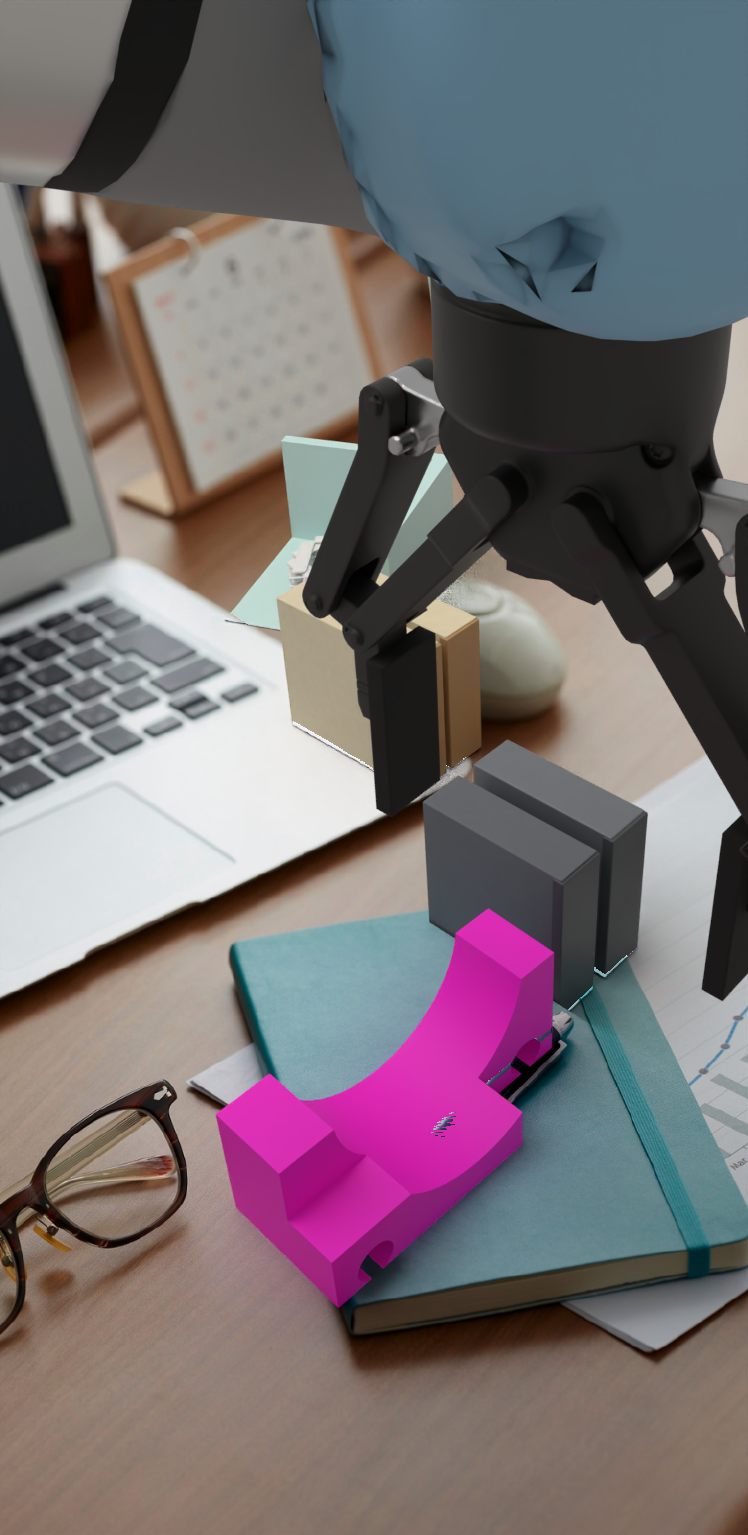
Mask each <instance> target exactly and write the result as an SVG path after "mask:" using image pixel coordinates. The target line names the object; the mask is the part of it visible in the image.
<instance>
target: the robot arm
mask: <svg viewBox="0 0 748 1535" xmlns="http://www.w3.org/2000/svg"><path fill="white" fill-rule="evenodd" d="M0 183H2V184H3V183H4V184H12V185H20V186H21V185H22V186H28V187H33V188H34V187H35V188H42V189H49V190H58V191H65V192H71V193H80V194H84V195H89V196H93V197H98V198H102V199H108V200H111V201H116V202H121V203H128V204H136V205H145V206H155V207H165V208H171V209H173V208H174V209H183V210H192V211H201V212H208V213H209V212H211V213H218V214H228V215H237V216H243V217H254V218H263V219H271V220H279V221H280V220H281V221H289V222H297V223H306V224H316V225H323V226H329V227H335V228H341V229H345V230H350V231H354V232H359V233H363V234H367V235H371V236H375V237H376V238H377V237H378V238H380V239H381V240H382V241H383V243H384V244H385V245H386V246H388V248H390V249H391V250H392V251H394V252H395V253H396V254H397V255H398V256H399V257H401V258H402V259H403V260H404V261H405V262H406V263H408V264H409V265H410V266H411V267H412V268H413V269H414V270H416V271H417V272H418V273H419V274H421V275H423V276H426V277H428V278H429V279H430V280H429V281H430V282H429V284H430V312H431V313H430V315H431V316H430V317H431V343H432V344H431V345H432V346H431V347H432V348H431V349H432V359H431V358H430V357H425V356H423V357H420V358H417V359H415V360H413V361H411V362H410V363H407V364H406V365H404V366H402V367H399V368H397V369H396V370H393V371H391V372H390V373H388V374H386V375H384V376H382V377H381V378H379V379H376V380H375V381H373V382H370V383H368V384H367V385H365V386H363V387H362V388H361V390H360V391H359V395H358V413H357V414H358V418H357V419H358V420H357V444H358V449H357V452H356V454H355V457H354V460H353V462H352V465H351V467H350V470H349V472H348V475H347V478H346V480H345V483H344V485H343V488H342V491H341V493H340V496H339V498H338V501H337V503H336V506H335V509H334V511H333V514H332V516H331V519H330V521H329V524H328V527H327V529H326V532H325V534H324V537H323V540H322V542H321V545H320V547H319V550H318V552H317V555H316V558H315V560H314V563H313V565H312V568H311V571H310V573H309V576H308V578H307V581H306V583H305V586H304V589H303V592H302V598H303V602H304V605H305V607H306V608H307V610H308V611H309V612H310V613H311V614H312V615H313V616H314V617H316V618H319V619H321V618H325V617H326V616H328V615H330V616H332V617H333V618H334V619H335V620H336V621H337V622H339V623H340V624H341V625H342V633H343V636H344V639H345V641H346V642H347V644H348V645H349V646H350V647H351V648H352V649H353V650H354V657H355V670H356V679H357V681H356V683H357V689H358V690H357V696H358V704H359V707H360V709H361V712H362V715H363V717H365V718H367V719H369V720H370V728H371V742H372V756H373V770H374V771H373V781H374V795H375V796H374V798H375V809H376V810H377V811H379V812H381V813H383V814H385V815H387V816H388V817H390V818H393V817H394V816H396V815H397V814H398V813H399V812H401V811H402V810H403V809H405V808H406V807H407V806H408V805H410V804H411V803H413V802H414V801H416V799H418V798H419V797H420V796H422V795H424V793H426V792H427V791H428V790H429V789H431V788H432V787H433V786H435V785H436V784H437V783H438V782H440V781H441V777H440V750H439V721H438V691H437V661H436V633H434V632H432V631H430V630H428V629H425V628H423V627H421V626H418V627H416V628H415V629H413V630H412V631H410V632H409V633H407V625H406V624H408V623H409V622H411V621H412V620H414V619H415V618H417V617H418V616H420V615H421V614H423V613H424V612H426V611H427V607H428V606H429V605H430V604H431V603H432V602H433V601H434V600H435V599H438V598H439V597H440V596H441V595H442V594H443V593H444V592H445V591H446V590H447V589H449V587H451V586H452V585H453V584H454V583H455V582H456V581H457V580H458V579H459V578H460V577H461V576H463V575H464V574H465V573H466V572H467V571H468V570H469V569H470V568H471V567H473V565H475V563H477V562H478V561H479V560H480V558H482V557H483V556H484V555H485V554H487V553H488V551H490V550H491V549H494V550H495V552H496V553H497V554H498V555H499V556H500V557H501V558H503V559H504V560H505V561H506V562H505V564H506V566H505V568H506V571H508V572H511V573H513V574H515V575H518V576H520V577H523V578H525V579H529V580H539V581H546V582H547V581H548V582H550V583H552V584H553V585H555V586H556V587H558V588H559V589H560V590H562V591H564V592H565V593H566V594H568V595H569V596H571V597H573V598H574V599H577V600H580V601H582V602H585V603H587V604H590V605H592V606H596V605H598V604H599V603H600V602H601V603H603V605H604V607H605V608H606V610H607V612H608V614H609V615H610V617H611V619H612V621H613V622H614V624H615V626H616V627H617V629H618V631H619V633H620V634H621V636H622V637H623V639H625V641H626V642H629V643H630V644H633V645H639V646H641V647H643V648H644V650H645V651H646V653H647V654H648V656H649V658H650V660H651V662H652V663H653V665H654V666H655V669H656V670H657V672H658V674H659V675H660V677H661V678H662V680H663V682H664V684H665V685H666V688H667V689H668V691H669V692H670V694H671V696H672V697H673V699H674V701H675V703H676V704H677V706H678V708H679V710H680V712H681V713H682V715H683V717H684V719H685V720H686V722H687V724H688V725H689V727H690V729H691V730H692V733H693V734H694V735H695V738H696V739H697V741H698V743H699V744H700V747H701V748H702V749H703V751H704V753H705V755H706V757H707V758H708V760H709V762H710V763H711V765H712V767H713V768H714V771H715V773H716V774H717V775H718V777H719V779H720V780H721V782H722V784H723V786H724V787H725V789H726V791H727V793H728V795H729V796H730V798H731V800H732V801H733V804H734V805H735V806H736V808H737V811H738V812H739V814H740V815H739V816H738V817H737V818H736V819H735V820H734V821H733V822H732V823H731V824H730V825H729V826H728V827H727V828H726V829H725V830H724V831H723V832H722V833H721V841H720V846H719V847H720V848H719V855H718V862H717V871H716V877H715V885H714V893H713V898H712V907H711V913H710V922H709V930H708V937H707V944H706V953H705V959H704V965H703V966H704V968H703V973H702V974H703V975H702V982H701V991H703V992H704V993H706V994H708V995H709V996H712V997H713V998H715V999H717V1000H719V1001H721V1002H724V1001H725V1000H726V998H727V997H728V996H729V995H730V994H731V993H732V992H733V991H734V989H736V988H737V987H738V985H739V984H741V982H742V981H743V980H744V979H745V978H746V977H747V975H748V483H747V482H741V481H736V480H732V479H726V478H724V475H723V472H722V469H721V467H720V464H719V461H718V459H717V455H716V450H715V445H714V432H715V428H716V423H717V420H718V416H719V412H720V409H721V405H722V402H723V399H724V395H725V391H726V386H727V379H728V370H729V359H730V350H731V340H732V331H733V324H735V323H737V322H740V321H743V320H744V319H747V318H748V0H0ZM439 445H440V449H441V452H442V454H444V456H445V458H446V459H447V461H448V463H449V465H450V467H451V469H452V474H453V475H454V477H455V478H456V480H457V482H458V484H459V486H460V488H461V490H462V493H463V497H462V499H460V501H459V502H458V503H457V504H455V505H454V506H453V507H454V508H453V509H452V510H451V511H450V512H449V513H448V514H447V515H446V516H445V517H444V518H443V519H442V520H441V521H440V522H439V523H438V524H437V525H436V526H435V527H434V528H433V529H432V530H431V531H430V532H429V533H428V534H427V537H428V539H427V540H426V541H425V542H424V543H423V544H422V545H421V546H420V547H419V548H418V549H417V550H416V551H415V552H414V553H413V554H412V555H411V556H410V557H409V558H408V559H407V560H406V561H405V562H404V563H403V564H402V565H401V566H400V567H399V568H398V569H397V570H396V571H395V572H394V573H393V574H392V575H391V576H390V577H389V578H388V579H387V580H386V581H385V582H384V583H383V584H382V585H381V586H379V585H378V584H377V583H376V581H377V579H378V576H379V574H380V572H381V570H382V568H383V565H384V563H385V561H386V559H387V556H388V554H389V552H390V550H391V548H392V545H393V543H394V541H395V539H396V537H397V534H398V532H399V530H400V528H401V525H402V523H403V521H404V519H405V517H406V514H407V512H408V510H409V508H410V506H411V503H412V501H413V499H414V497H415V494H416V492H417V490H418V488H419V486H420V483H421V481H422V479H423V477H424V475H425V472H426V470H427V468H428V466H429V463H430V461H431V459H432V457H433V454H434V453H436V452H435V451H436V449H437V447H438V446H439ZM703 530H707V531H708V532H710V533H711V534H712V535H713V536H714V537H715V538H716V539H717V541H718V542H719V544H720V546H721V550H722V556H720V558H718V557H717V554H716V553H715V552H714V550H713V548H712V546H711V544H710V543H709V541H708V539H707V537H706V536H705V533H704V531H703ZM666 564H667V565H668V567H669V569H670V570H671V573H672V582H671V583H670V585H668V586H667V587H666V588H664V589H663V590H662V591H661V592H659V593H658V594H656V595H655V596H654V595H653V594H652V591H651V590H650V588H649V587H648V584H647V582H646V581H647V580H649V579H650V578H651V577H652V576H654V575H655V574H656V573H657V572H658V571H659V570H660V569H661V568H662V567H664V566H665V565H666ZM726 577H728V578H734V585H735V586H734V587H735V597H736V603H737V609H738V612H739V617H740V620H741V622H740V620H739V619H738V617H737V615H736V614H735V612H734V610H733V609H732V607H731V605H730V603H729V601H728V599H727V597H726V594H725V587H726V582H727V578H726ZM741 623H742V624H741Z"/></svg>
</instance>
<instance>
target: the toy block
mask: <svg viewBox="0 0 748 1535" xmlns="http://www.w3.org/2000/svg"><path fill="white" fill-rule="evenodd" d="M553 979H554V952H552V951H551V950H550V949H548V948H547V947H545V946H544V945H542V944H541V943H539V942H538V941H536V940H535V939H533V938H532V937H530V936H529V935H527V934H526V933H524V932H523V931H521V930H520V929H518V928H517V927H515V926H514V925H512V924H511V923H509V922H508V921H506V920H505V919H503V918H502V917H500V916H499V915H497V914H496V913H494V912H493V911H491V910H490V909H487V910H486V911H484V912H483V913H482V914H480V915H479V916H478V917H476V918H475V919H474V920H472V921H471V922H470V923H468V924H467V925H466V926H464V927H463V928H462V929H460V930H459V931H458V932H456V934H455V938H454V943H453V947H452V952H451V956H450V961H449V964H448V967H447V969H446V973H445V975H444V978H443V980H442V982H441V985H440V987H439V989H438V991H437V992H436V995H435V997H434V999H433V1001H432V1002H431V1004H430V1006H429V1008H428V1009H427V1011H426V1012H425V1014H424V1015H423V1017H422V1019H420V1022H419V1023H418V1025H417V1026H416V1027H415V1028H414V1030H413V1031H412V1033H411V1034H410V1035H408V1037H407V1039H406V1040H405V1041H404V1043H402V1045H401V1046H400V1047H399V1048H398V1049H397V1050H396V1051H395V1052H394V1053H393V1054H392V1055H391V1056H390V1057H389V1058H388V1059H387V1060H386V1061H385V1062H384V1063H383V1064H382V1065H381V1066H380V1067H378V1068H377V1069H376V1070H374V1071H373V1072H372V1073H371V1074H369V1075H368V1076H367V1077H365V1078H364V1079H362V1080H361V1081H359V1082H357V1083H356V1084H354V1085H352V1086H350V1087H349V1088H347V1089H345V1090H343V1091H341V1092H338V1093H336V1094H333V1095H331V1096H327V1097H324V1098H319V1099H309V1100H308V1099H300V1098H298V1097H297V1096H296V1095H295V1094H294V1093H292V1092H291V1091H290V1090H289V1088H287V1087H286V1086H285V1085H283V1083H281V1082H280V1081H279V1080H278V1079H277V1078H276V1077H275V1076H273V1075H272V1074H271V1073H268V1074H267V1075H265V1076H264V1077H262V1079H260V1080H259V1081H257V1082H256V1083H255V1084H253V1085H252V1086H251V1087H250V1088H248V1089H247V1090H246V1091H244V1092H243V1093H242V1094H240V1095H239V1096H237V1097H236V1098H235V1099H233V1100H232V1101H231V1102H230V1103H228V1104H227V1105H225V1106H224V1107H223V1108H222V1109H221V1110H219V1111H218V1112H216V1113H215V1119H216V1123H217V1128H218V1132H219V1137H220V1142H221V1147H222V1150H223V1151H222V1152H223V1156H224V1161H225V1165H226V1169H227V1173H228V1178H229V1182H230V1187H231V1193H232V1197H233V1202H234V1205H235V1209H237V1210H238V1212H240V1213H241V1214H242V1215H243V1216H244V1217H245V1218H246V1219H247V1220H248V1221H249V1222H250V1223H251V1224H252V1225H253V1226H254V1227H255V1228H256V1229H257V1230H258V1231H259V1232H260V1233H261V1234H262V1235H263V1236H264V1237H265V1238H266V1239H267V1240H268V1241H269V1242H270V1243H271V1244H272V1245H274V1246H275V1248H276V1249H277V1250H279V1251H280V1253H281V1254H282V1255H283V1256H284V1257H285V1258H286V1259H287V1260H289V1261H290V1262H291V1263H292V1264H293V1265H294V1266H295V1268H296V1269H298V1270H299V1271H300V1272H301V1273H302V1274H303V1275H304V1276H305V1277H306V1278H307V1279H308V1280H309V1281H310V1282H311V1283H312V1284H313V1285H314V1286H315V1287H316V1288H317V1289H318V1290H319V1291H320V1292H321V1293H322V1294H323V1295H324V1296H325V1297H326V1298H327V1299H328V1300H329V1301H330V1302H331V1303H332V1304H333V1305H334V1306H336V1308H337V1309H339V1308H341V1307H342V1306H343V1305H344V1304H345V1303H346V1302H347V1301H349V1299H351V1298H352V1297H353V1296H354V1295H355V1294H356V1293H357V1292H359V1290H361V1289H362V1288H363V1287H364V1286H366V1284H368V1283H369V1282H370V1281H371V1280H372V1279H373V1278H372V1277H371V1276H370V1275H369V1274H368V1273H366V1272H365V1271H364V1269H362V1268H361V1266H362V1263H363V1262H364V1260H365V1259H366V1258H367V1256H369V1257H370V1258H371V1259H372V1260H373V1261H374V1262H375V1263H376V1264H377V1265H378V1266H379V1267H381V1269H384V1268H386V1267H387V1266H388V1265H389V1264H391V1262H392V1261H394V1260H395V1259H396V1258H397V1257H398V1256H399V1255H400V1254H402V1252H403V1251H405V1250H406V1249H407V1248H408V1247H410V1245H411V1244H412V1243H414V1242H415V1241H416V1240H417V1239H418V1238H419V1237H420V1236H421V1235H423V1234H424V1233H425V1232H426V1231H427V1230H428V1229H429V1228H430V1227H431V1226H433V1225H434V1224H435V1223H436V1222H437V1221H438V1220H440V1218H441V1217H443V1216H444V1215H445V1214H446V1213H447V1212H449V1211H450V1210H451V1209H452V1208H453V1207H454V1206H456V1204H457V1203H458V1202H460V1201H461V1200H462V1199H463V1198H465V1196H466V1195H468V1194H469V1193H470V1192H471V1191H472V1190H473V1189H474V1188H476V1186H478V1185H479V1184H480V1183H481V1182H482V1181H483V1180H485V1179H486V1178H487V1177H488V1176H489V1175H490V1174H491V1173H492V1172H493V1171H494V1170H496V1169H497V1168H498V1167H499V1166H500V1165H501V1164H502V1163H503V1162H505V1161H506V1160H507V1159H508V1158H509V1157H510V1156H512V1154H514V1153H515V1152H516V1151H517V1150H519V1148H520V1147H522V1145H523V1127H524V1126H523V1124H524V1123H523V1118H524V1116H523V1114H524V1112H523V1111H521V1110H520V1109H519V1108H518V1107H516V1105H514V1104H512V1103H511V1102H510V1101H509V1100H507V1099H506V1098H505V1097H504V1096H502V1095H501V1094H500V1093H501V1092H502V1091H503V1090H505V1089H506V1088H507V1087H508V1086H509V1085H510V1084H512V1083H513V1082H514V1081H515V1080H516V1079H518V1077H520V1076H521V1075H522V1073H521V1072H520V1071H518V1070H517V1069H516V1068H514V1067H513V1065H512V1066H511V1068H510V1069H508V1070H507V1071H506V1072H505V1073H504V1074H502V1075H501V1076H500V1077H499V1078H498V1079H496V1080H495V1081H494V1082H493V1083H492V1084H491V1085H489V1086H488V1085H487V1084H486V1083H487V1082H488V1080H491V1078H493V1077H494V1076H496V1075H497V1074H498V1073H500V1072H501V1070H502V1069H503V1068H505V1067H506V1066H508V1064H509V1063H511V1062H512V1061H513V1062H514V1060H515V1058H517V1059H519V1060H520V1061H522V1063H524V1064H526V1065H527V1066H529V1067H532V1065H534V1064H535V1063H536V1062H538V1060H540V1059H541V1058H542V1057H543V1056H545V1054H547V1052H549V1051H550V1050H551V1049H552V1048H553V1032H552V1033H551V1034H550V1035H549V1036H547V1037H546V1038H545V1039H544V1040H543V1041H541V1042H539V1041H537V1040H536V1039H535V1038H537V1039H539V1038H540V1036H542V1035H543V1034H545V1033H546V1032H548V1031H549V1029H550V1030H551V1028H552V1029H553V1012H554V1011H553V1010H554V1001H553ZM513 1059H514V1060H513ZM513 1062H512V1063H513ZM499 1071H500V1072H499ZM451 1112H456V1113H452V1114H449V1113H451ZM449 1116H456V1117H452V1118H446V1119H453V1121H452V1122H447V1123H450V1124H455V1125H451V1126H446V1127H442V1128H446V1129H447V1130H433V1128H436V1127H434V1126H436V1125H438V1124H441V1123H437V1122H439V1121H441V1120H444V1119H442V1118H444V1117H449ZM437 1127H441V1126H437ZM435 1131H436V1132H443V1133H431V1132H435ZM435 1135H438V1136H435ZM441 1136H445V1137H441Z"/></svg>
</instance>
